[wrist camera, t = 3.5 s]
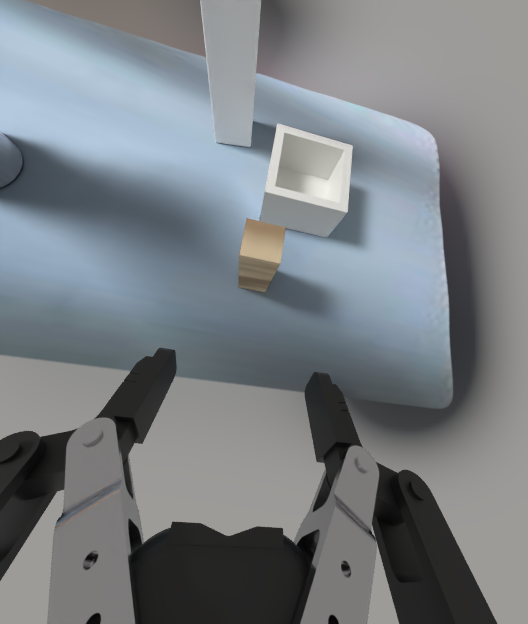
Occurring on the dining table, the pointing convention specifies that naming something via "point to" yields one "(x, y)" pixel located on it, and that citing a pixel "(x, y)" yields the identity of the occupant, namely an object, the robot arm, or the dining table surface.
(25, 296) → the dining table surface
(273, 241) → the beech post
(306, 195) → the white well
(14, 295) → the dining table surface
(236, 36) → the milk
